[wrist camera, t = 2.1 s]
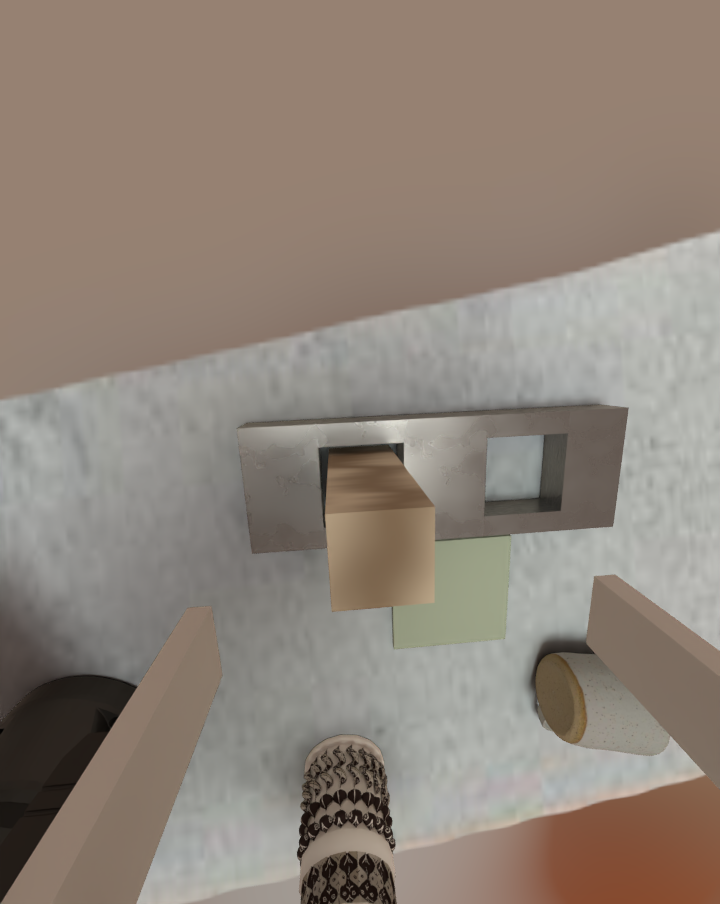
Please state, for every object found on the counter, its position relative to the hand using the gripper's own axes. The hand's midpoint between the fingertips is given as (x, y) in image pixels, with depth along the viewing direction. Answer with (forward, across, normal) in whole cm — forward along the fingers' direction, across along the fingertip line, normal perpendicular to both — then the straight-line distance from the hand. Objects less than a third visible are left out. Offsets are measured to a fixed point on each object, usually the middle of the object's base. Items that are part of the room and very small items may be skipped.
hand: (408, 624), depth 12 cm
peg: (+18, 0, 0) cm, 18 cm away
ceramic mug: (+19, -20, +24) cm, 37 cm away
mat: (+18, -8, +12) cm, 23 cm away
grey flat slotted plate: (+18, -6, 0) cm, 19 cm away
